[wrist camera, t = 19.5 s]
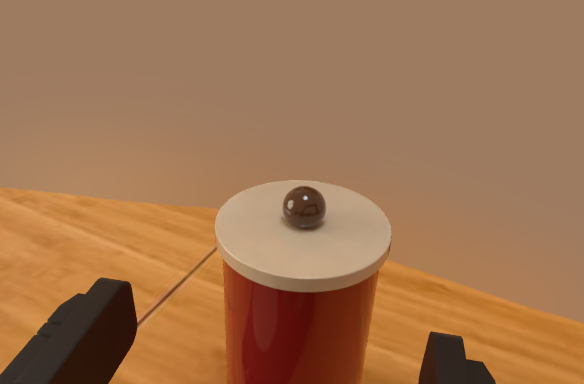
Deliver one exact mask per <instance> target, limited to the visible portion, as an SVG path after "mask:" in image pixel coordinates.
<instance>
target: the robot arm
mask: <svg viewBox="0 0 584 384" xmlns="http://www.w3.org/2000/svg"><path fill="white" fill-rule="evenodd" d="M136 332H137V318H136V312H135V305H134V299H133V293H132V287H131V284H130V283H129V282H127V281H121V280H115V279H108V278H100V279H98V280H97V281H96V282H95V283H94V285H93V286H92V287H91V288H90V290H89V291H88V292H87V293H86V294H79V293H78V294H77V295H75V296H74V297H72V298H71V299H69V300H68V301H66V302H64V303H63V304H61V305H60V306H59V307H58V308H57V310H56V311H55V312H54V313H53V314H52V315H51V317H50V318H49V319H48V322H47V323H45V324H44V325H43V326H42V327H41V328H40V329H39V331H38V332H37V335H34V336H33V338H32V339H31V340H30V341H29V342H28V343H27V344H26V346H25V347H24V348H23V349H22V350H21V351H20V353H19V354H18V355H17V356H16V357H15V358H14V360H13V361H12V362H11V363H10V364H9V365H8V367H7V368H6V369H5V370H4V371H3V372H2V374H1V375H0V384H108V383H109V382H110V380H111V378H112V377H113V375H114V374H115V372H116V370H117V369H118V367H119V365H120V364H121V362H122V361H123V359H124V357H125V356H126V354H127V352H128V351H129V349H130V348H131V346H132V344H133V342H134V339H135V336H136ZM418 384H496V383H495V380H494V379H493V377H492V376H491V374H490V373H489V371H488V370H487V368H486V366H485V365H484V363H483V362H479V361H473V360H467V359H466V356H465V350H464V343H463V339H462V337H461V336H456V335H450V334H443V333H437V332H430V334H429V338H428V342H427V346H426V350H425V354H424V358H423V362H422V366H421V371H420V376H419V383H418Z"/></svg>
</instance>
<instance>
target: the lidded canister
mask: <svg viewBox="0 0 584 384" xmlns="http://www.w3.org/2000/svg"><path fill="white" fill-rule="evenodd" d="M391 238H392V230H391V226H390V223H389V220H388V219H387V217H386V215H385V214H384V213H383V211H382V210H381V209H380V208H379V207H378V206H377V205H376V204H374V203H373V202H372V201H370V200H369V199H367V198H366V197H364V196H362V195H360V194H358V193H356V192H354V191H352V190H349V189H346V188H344V187H340V186H337V185H333V184H328V183H323V182H317V181H306V180H286V181H276V182H270V183H265V184H261V185H257V186H254V187H251V188H249V189H246V190H244V191H242V192H240V193H238V194H236V195H235V196H233V197H232V198H230V199H229V200H228V201H227V202H226V203H225V204H224V205H223V206H222V208H221V209H220V210H219V212H218V214H217V217H216V220H215V242H216V246H217V249H218V251H219V253H220V255H221V257H222V258H223V275H224V303H225V331H226V359H227V384H361V378H362V372H363V366H364V360H365V353H366V347H367V341H368V335H369V329H370V323H371V317H372V311H373V305H374V298H375V292H376V286H377V280H378V274H379V269H380V268H381V267H382V265H383V264H384V262H385V261H386V259H387V257H388V254H389V251H390V245H391Z"/></svg>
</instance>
